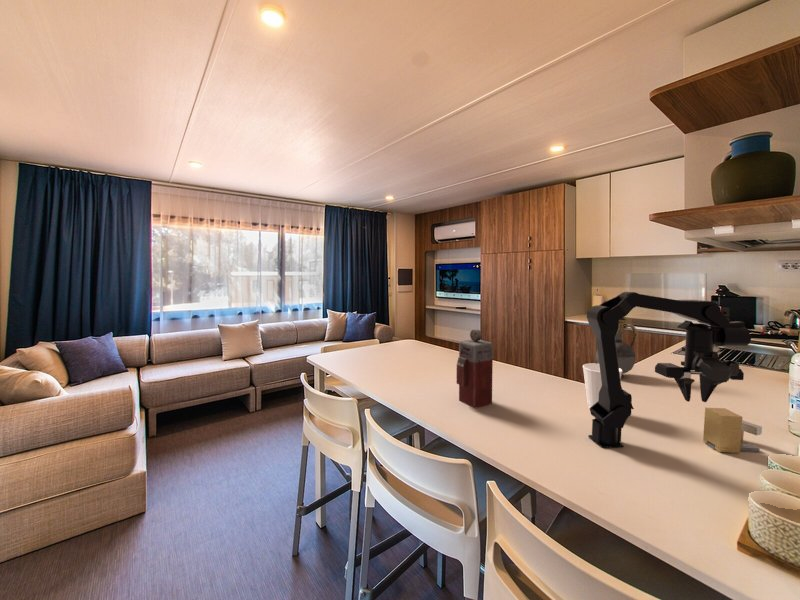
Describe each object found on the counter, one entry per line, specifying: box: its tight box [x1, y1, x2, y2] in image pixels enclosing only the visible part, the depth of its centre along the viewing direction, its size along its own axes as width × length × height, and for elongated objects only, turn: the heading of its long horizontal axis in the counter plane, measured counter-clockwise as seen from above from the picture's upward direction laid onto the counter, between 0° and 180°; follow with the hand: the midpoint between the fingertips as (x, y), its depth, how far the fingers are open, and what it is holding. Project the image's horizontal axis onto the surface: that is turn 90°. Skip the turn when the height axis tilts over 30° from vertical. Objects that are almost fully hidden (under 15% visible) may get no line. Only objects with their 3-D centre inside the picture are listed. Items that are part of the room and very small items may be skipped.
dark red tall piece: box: [456, 328, 494, 409], centre depth 125 cm, size 9×11×28 cm
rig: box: [707, 419, 763, 453], centre depth 94 cm, size 13×9×6 cm, turn 83°
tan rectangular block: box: [702, 407, 743, 454], centre depth 91 cm, size 5×6×10 cm
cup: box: [582, 362, 623, 412], centre depth 115 cm, size 12×12×16 cm
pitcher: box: [595, 316, 638, 379], centre depth 156 cm, size 11×19×30 cm, turn 102°
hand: (695, 401), depth 92 cm, fingers open, 4 cm apart
